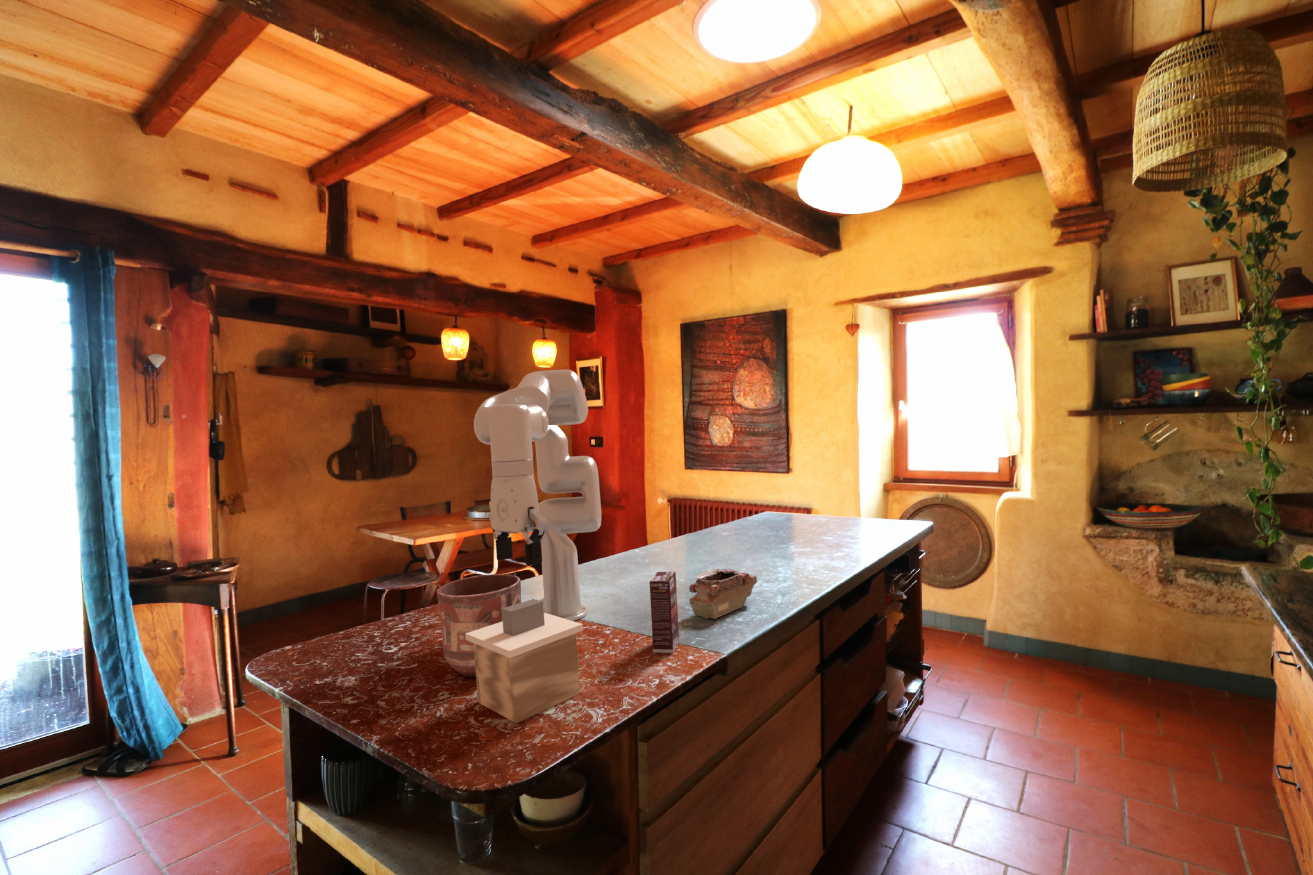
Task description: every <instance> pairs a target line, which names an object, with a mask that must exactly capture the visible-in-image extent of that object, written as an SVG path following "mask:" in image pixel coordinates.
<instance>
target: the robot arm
mask: <svg viewBox="0 0 1313 875" xmlns="http://www.w3.org/2000/svg"><path fill="white" fill-rule="evenodd" d="M586 397H587V396H586V393H585V389H584V387H583V384H582V380H581V378H580V377H579V375H578V374H577V373H576V372H575V371H573V370H571V369H553V370H551V369H550V370H538V371H532V372H529V373H527V374H526V375H524V376H523V378H522V379H521V381H520V382H519V384H518V385H517V386H516V387H515V388H512V389H508V390H506V391H504V392H503V391H502V392H500V393H499V394H495V395H492V396H490V397H488V398H486V399H485V400H483V402H482V403H481V405H480V406H479V407H478V408H477V411H476V413H475V416H474V419H473V430H474V435H475V436H476V437H477V438H476V439H477V440H478V441H479V442H481V443H483V444H485V445H490V454H491V456H490V457H491V459H490V460H491V472H492V479H491V485H490V506H489V507H490V509H489V510H490V514H489V515H488V517H489V518H488V519H489V521H490V526H491V531H492V532H493V539H494V540H495V550H496V552H495V554H496V560H497V561H505V560H508V559H512V558H513V557H514V555H513V543H512V541H513V540H512V539H513V538H512V536H510V535H511V534H520V533H521V534H522V537H523V538H524V540H525V542H526V543H524V553H525V554H524V555H525V566H526V567H532V566H536V565H540V564H541V572H542V585H543V598H541V599H539V601H543V608H544V613H547V614H550V615H554V616H557V617H561V618H564V619H567V620H571V621H574V622H575V621H577V620H580V619H582V618H583V617H585V616H586V615H588V609H587V607H586V606H584V605H583V604H582V603H581V593H580V592H581V590H580V576H579V575H580V574H579V560H578V549H577V546H576V545H575V543H574V541H573V540H571V538H570V537H569V536H568V535H570V534H577V533H578V534H579V533H582V534H583V533H592V532H597V531H598V530H599V529H600V527H601V526H602V505H601V492H600V491H601V490H600V478H599V469H598V466H597V462H596V461H595V460H594V458H593V457H592V456H591V457H590V456H588V455H578V456H577V455H576V456H570V454H569V445H568V444H569V440H568V437H567V435H566V434H565V432H564V431H563V429H561V427H559V426H567V425H569V426H570V425H578V424H579V425H580V424H582V423H584V422H586V420H587V417H588V413H589V406H588V400H587V398H586ZM533 442H534V445H535V453H536V454H535V456H536V472H537V479H538V480H537V481H538V486H539V488H540V490H541V491H542V492H543V493H545V494H567V493H568V494H569V493H580V494H582V495H581V496H575V497H574V496H573V497H571V496H570V497H569V496H568V497H567V496H566V497H556V498H548V499H544V500H542V501H541V502H539V498H538V491H537V485H536V482H535V473H534V472H535V471H534V470H535V469H534V458H533V444H532V443H533ZM581 604H582V605H581Z"/></svg>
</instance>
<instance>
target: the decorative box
mask: <svg viewBox="0 0 1313 875" xmlns="http://www.w3.org/2000/svg"><path fill="white" fill-rule="evenodd" d="M757 583H758V578H757V575H754V574H750V573H748V572H747V573H746V572H739V571H737V570H734V569H727V568H717V569H711V570H710V569H709V570H707V571H705V572H701V573H699V574H697V576H696V580H695V583H691V584H690V585H689V587H688V589H689V592H690V593H694V594H695V593H696V594H695V595H694V596H692V597H690V598H689V599H688V600H689V604H690V607H691V609H692V613H693V615H694V616H699V617H703V619H708V618H710V619H717V618H719V617H721V616H725V615H727V614H729V613H731V612H734V611H735V610H737V609H740V608H743V607H744V606H745V604H746V601H747V599H748V597H751V595H752V592H753V589H754V586H755V585H756V584H757Z"/></svg>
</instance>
